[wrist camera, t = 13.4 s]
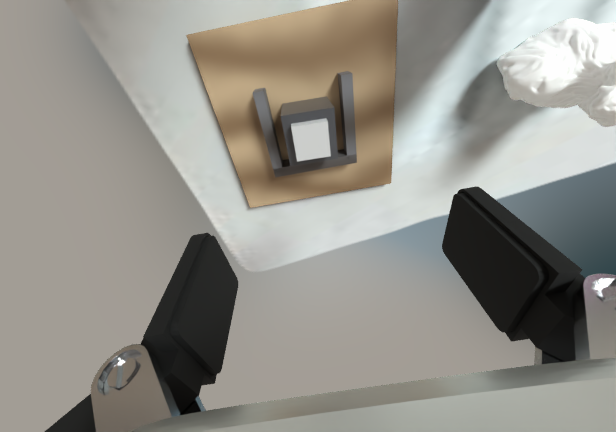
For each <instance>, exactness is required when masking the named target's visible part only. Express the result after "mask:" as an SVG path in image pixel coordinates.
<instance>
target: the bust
mask: <svg viewBox="0 0 616 432" xmlns="http://www.w3.org/2000/svg"><path fill="white" fill-rule="evenodd" d="M497 67H498V69H499V70H500V72H501V74H502V76H503V83H504V85H505V89H506V90H507V93H508V95H509V96H510V98H511V99H512V100H515V101H516V100H522V101H524V102H526V103H527V104H533V105H534V106H536V107H551V108H568V107H572V106H575V105H578V106H579V107H580V108H581V109H582V110H583V111H585V112H586V113H587V114H588V116H589V118H592V119H594V120H596V121H597V122H598V123H599V124H600V125H601V126H604V127H609V126H614V125H616V22H613V23H603V24H594V23H593V22H590V21H587V20H583V19H577V18H570V19H567V20H563V21H561V22H559V23H557V24H555V25H553V26H551V27H549V28H547V29H545V30H544V31H542V32H540V33H539V34H537V35H534V36H532V37H529V38H528V39H526V40H525V41H524V42H523V43H522V44H521V45H519V46H518V47H517V48H515V49H513V50H511V51H510V52H507V53H505V54H503V55H502V56H501V57H500V58H499V59H498V60H497Z"/></svg>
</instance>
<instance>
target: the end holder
mask: <svg viewBox="0 0 616 432" xmlns="http://www.w3.org/2000/svg"><path fill="white" fill-rule="evenodd" d="M397 16H398V0H349V1H344V2H340V3H335V4H330V5H326V6H321V7H316V8H311V9H307V10H302V11H297V12H293V13H288V14H283V15H278V16H274V17H269V18H264V19H260V20H255V21H250V22H245V23H241V24H236V25H231V26H227V27H222V28H217V29H212V30H208V31H203V32H198V33H194V34H189V35H186V36H187V38H188V41H189V44H190V46H191V49H192V52H193V54H194V57H195V60H196V63H197V65H198V68H199V71H200V73H201V76H202V79H203V81H204V84H205V87H206V90H207V92H208V95H209V98H210V100H211V103H212V106H213V109H214V111H215V114H216V117H217V119H218V122H219V125H220V127H221V130H222V133H223V136H224V138H225V141H226V144H227V146H228V149H229V152H230V154H231V157H232V160H233V163H234V165H235V168H236V171H237V173H238V176H239V179H240V181H241V184H242V187H243V190H244V192H245V195H246V198H247V200H248V203H249V206H250V208H253V207H258V206H264V205H270V204H275V203H281V202H287V201H293V200H298V199H304V198H310V197H315V196H321V195H327V194H333V193H338V192H344V191H350V190H355V189H361V188H367V187H373V186H378V185H384V184H390V183H391V173H392V147H393V121H394V95H395V69H396V42H397ZM326 96H327V97H328V99H329V100H330V102H331V103H332V105H333V106H334V109H335V124H336V138H337V152H338V159H332V160H325V161H319V162H313V163H306V164H300V165H293V166H290V162H289V157H288V152H287V146H286V141H285V136H284V131H283V126H282V121H281V108H282V104H283V103H289V102H295V101H301V100H307V99H313V98H320V97H326Z"/></svg>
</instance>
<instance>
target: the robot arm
mask: <svg viewBox="0 0 616 432" xmlns="http://www.w3.org/2000/svg"><path fill="white" fill-rule="evenodd" d="M442 249H443V252H444V254H445V255H446V257H447V258H448V259H449V261H450V262H451V264H452V265H453V266H454V268H455V269H456V271H457V272H458V273H459V275H460V276H461V278H462V279H463V280H464V282H465V283H466V285H467V286H468V288H469V289H470V290H471V292H472V293H473V295H474V296H475V297H476V299H477V300H478V302H479V303H480V304H481V306H482V307H483V309H484V310H485V312H486V313H487V314H488V315H489V317H490V319H491V320H492V321H493V323H494V324H495V326H496V327H497V328H498V329H499V330H500V331H501V332H505V333H506V334H507V336H508V337H509V339H510V340H511V341H517V340H524V339H530V340H531V341H532V342H533V344H534V345H535V360H534V365H533V366H524V367H516V368H509V369H501V370H493V371H486V372H478V373H471V374H464V375H456V376H448V377H440V378H433V379H426V380H418V381H411V382H404V383H397V384H389V385H381V386H375V387H367V388H360V389H352V390H345V391H338V392H330V393H323V394H316V395H310V396H302V397H296V398H289V399H281V400H274V401H267V402H260V403H253V404H246V405H239V406H233V407H227V408H221V409H214V410H208V411H206V410H205V408H204V406H203V404H202V402H201V400H200V398H199V393H200V389H201V385H207V384H214V383H215V380H216V375H217V373H220V371H221V369H222V365H223V359H224V354H225V350H226V345H227V340H228V334H229V329H230V325H231V320H232V315H233V310H234V305H235V299H236V294H237V288H238V280H237V277H236V275H235V273H234V272H233V270H232V268H231V266H230V265H229V262H228V260H227V258H226V257H225V255H224V253H223V251H222V249H221V247H220V245H219V244H218V241H217V240H216V238H215V237H214V236H211V235H210V234H208V233H204V234H198V235H193V236H192V237H191V238H190V240H189V242H188V245H187V247H186V249H185V251H184V253H183V255H182V257H181V259H180V261H179V263H178V265H177V268H176V270H175V272H174V274H173V276H172V278H171V280H170V282H169V284H168V286H167V288H166V291H165V293H164V295H163V297H162V299H161V301H160V303H159V305H158V307H157V309H156V312H155V314H154V316H153V318H152V320H151V322H150V324H149V326H148V328H147V330H146V332H145V334H144V336H143V337H144V338H143V340H142V342H141V344H134V345H130V346H127V347H124V348H122V349H121V350H119V351H117V352H116V353H114V354H113V355H112V356H111V357H110V358H109V359H107V361H106V362H105V363H104V364H103V365H102V366H101V368H100V369H99V370H98V372H97V374H96V375H95V377H94V380H93V382H92V385H91V394H90V395H89V396H87V397H86V398H85V399H84V400H82V401H81V402H80V403H79V404H78V405H76V406H75V407H74V408H73V409H72V410H70V411H69V412H68V413H67V414H65V415H64V416H63V417H62V418H61V419H59V420H58V421H57V422H56V423H55V424H53V425H52V426H51V427H50V428H49V429H47V430H46V431H45V432H616V276H615V275H610V274H594V275H590V276H588V277H587V278H584V277H583V276H582V275H581V274H580V272H581V271H582V269H581V268H580V267H578V266H577V265H576V264H575V263H573V262H572V261H571V260H570V259H568V258H567V257H566V256H565V255H563V254H562V253H561V252H559V251H558V250H557V249H556V248H555V247H553V246H552V245H551V244H549V243H548V242H547V241H546V240H545V239H543V238H542V237H541V236H540V235H538V234H537V233H536V232H535V231H533V230H532V229H531V228H530V227H528V226H527V225H526V224H525V223H523V222H522V221H521V220H520V219H518V218H517V217H516V216H515V215H513V214H512V213H511V212H510V211H509V210H507V209H506V208H505V207H504V206H502V205H501V204H500V203H498V202H497V201H496V200H495V199H494V198H492V197H491V196H490V195H489V194H487V193H486V192H485V191H484V190H482V189H481V188H479V187H471V188H465V189H461V190H459V191H458V193H457V194H455V195H454V197H453V201H452V205H451V209H450V214H449V218H448V222H447V227H446V231H445V235H444V239H443V244H442Z"/></svg>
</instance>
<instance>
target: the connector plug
mask: <svg viewBox="0 0 616 432" xmlns="http://www.w3.org/2000/svg"><path fill="white" fill-rule="evenodd" d="M281 121H282V126H283V131H284V136H285V141H286V146H287V152H288V157H289V162H290V166H293V165H300V164H306V163H313V162H319V161H325V160H332V159H338V152H337V138H336V124H335V109H334V106H333V105H332V103H331V102H330V100H329V99H328V97H327V96H326V97H320V98H313V99H307V100H301V101H295V102H289V103H283V104H282V108H281Z"/></svg>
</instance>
